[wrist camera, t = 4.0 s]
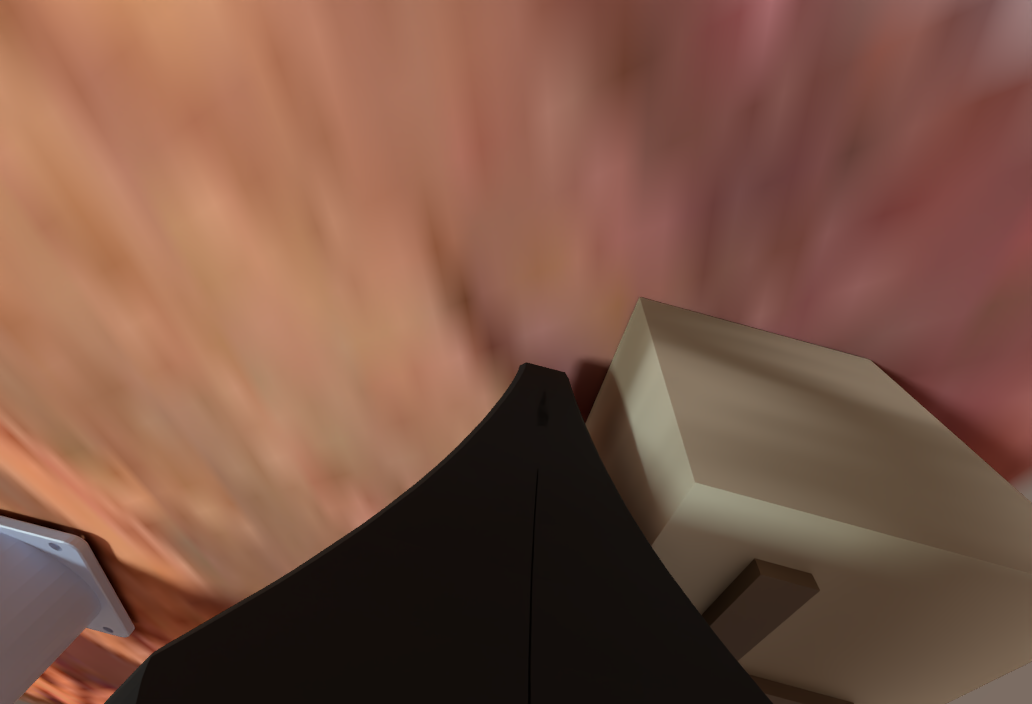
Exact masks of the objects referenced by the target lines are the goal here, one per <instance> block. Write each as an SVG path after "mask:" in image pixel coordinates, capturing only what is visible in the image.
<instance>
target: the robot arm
mask: <svg viewBox="0 0 1032 704" xmlns="http://www.w3.org/2000/svg"><path fill="white" fill-rule="evenodd" d="M85 628H89V629H93V630H97V631H101V632H104V633H108V634H112V635H116V636H120V637H128V636H129V635H130V634H131V633H132V632H133V630H134V629H135V627H134V625H133V623H132V621H131V619H130V617H129V616H128V614H127V612H126V610H125V609H124V607H123V605H122V603H121V601H120V600H119V598H118V596H117V594H116V593H115V591H114V589H113V587H112V585H111V584H110V582H109V580H108V578H107V576H106V575H105V573H104V571H103V569H102V568H101V566H100V564H99V562H98V560H97V559H96V557H95V555H94V553H93V552H92V550H91V548H90V546H89V544H88V543H87V542H86V541H85V540H84V539H83V538H81V537H79V536H76V535H74V534H70V533H66V532H62V531H58V530H55V529H51V528H47V527H43V526H39V525H36V524H32V523H28V522H24V521H20V520H17V519H13V518H9V517H5V516H1V515H0V704H14V703H15V702H16V701H17V700H18V699H19V698H20V697H21V696H22V695H23V694H24V693H25V691H26V690H27V689H28V688H29V687H30V686H31V685H32V684H33V683H34V682H35V681H36V680H37V679H38V678H39V677H40V676H41V675H42V674H43V672H44V671H45V670H46V669H47V668H48V667H49V666H50V665H51V664H52V663H53V662H54V661H55V660H56V659H57V658H58V657H59V656H60V655H61V653H62V652H63V651H64V650H65V649H66V648H67V647H68V646H69V645H70V644H71V643H72V642H73V641H74V640H75V639H76V638H77V637H78V636H79V635H80V633H81V632H82V631H83V630H84V629H85ZM104 704H773V703H772V702H771V701H770V699H769V698H768V697H767V696H766V695H765V693H764V692H763V691H762V690H761V689H760V687H759V686H758V685H757V684H756V683H755V681H754V680H753V679H752V678H751V677H750V675H749V674H748V673H747V672H746V671H745V669H744V668H743V667H742V666H741V665H740V663H739V662H738V661H737V660H736V659H735V657H734V656H733V655H732V654H731V653H730V651H729V650H728V649H727V648H726V646H725V645H724V644H723V643H722V641H721V640H720V639H719V638H718V636H717V635H716V634H715V632H714V631H713V630H712V629H711V627H710V626H709V625H708V623H707V622H706V621H705V619H704V618H703V617H702V615H701V614H700V613H699V611H698V610H697V609H696V607H695V606H694V605H693V603H692V602H691V601H690V599H689V598H688V597H687V595H686V594H685V593H684V591H683V590H682V589H681V587H680V586H679V585H678V583H677V582H676V581H675V579H674V578H673V577H672V575H671V574H670V573H669V571H668V570H667V569H666V567H665V566H664V564H663V563H662V561H661V560H660V558H659V557H658V555H657V554H656V552H655V551H654V550H653V548H652V547H651V545H650V543H649V542H648V540H647V539H646V537H645V536H644V534H643V532H642V531H641V529H640V528H639V526H638V525H637V523H636V521H635V520H634V518H633V516H632V515H631V513H630V511H629V510H628V508H627V506H626V505H625V503H624V501H623V499H622V498H621V496H620V494H619V492H618V490H617V489H616V487H615V485H614V483H613V481H612V479H611V477H610V475H609V474H608V472H607V470H606V468H605V466H604V464H603V462H602V460H601V458H600V456H599V454H598V451H597V449H596V447H595V445H594V443H593V440H592V438H591V436H590V434H589V432H588V429H587V427H586V425H585V422H584V420H583V418H582V415H581V413H580V410H579V407H578V405H577V402H576V400H575V397H574V394H573V391H572V388H571V385H570V382H569V379H568V377H567V375H566V373H565V372H561V371H557V370H553V369H549V368H546V367H542V366H538V365H534V364H530V363H524V364H522V365H520V367H519V370H518V372H517V374H516V376H515V378H514V380H513V381H512V383H511V384H510V386H509V387H508V389H507V390H506V392H505V393H504V394H503V396H502V397H501V398H500V400H499V401H498V402H497V403H496V405H495V406H494V407H493V408H492V410H491V411H490V412H489V413H488V414H487V416H486V417H485V418H484V419H483V420H482V421H481V422H480V424H479V425H478V426H477V427H476V428H475V429H474V430H473V431H472V432H471V433H470V434H469V435H468V436H467V437H466V438H465V439H464V440H463V441H462V442H461V443H460V444H459V445H458V446H457V447H456V448H455V449H454V450H453V451H452V452H451V453H450V454H449V455H448V456H447V457H446V458H445V459H444V460H442V461H441V462H440V463H439V464H438V465H437V466H436V467H435V468H433V469H432V470H431V471H430V472H429V473H428V474H426V475H425V476H424V477H423V478H422V479H421V480H419V481H418V482H417V483H416V484H415V485H413V486H412V487H411V488H409V489H408V490H407V491H406V492H404V493H403V494H402V495H400V496H399V497H398V498H397V499H395V500H394V501H393V502H392V503H390V504H389V505H388V506H386V507H385V508H384V509H382V510H381V511H380V512H378V513H377V514H376V515H374V516H373V517H372V518H370V519H369V520H367V521H366V522H365V523H363V524H362V525H360V526H359V527H357V528H356V529H354V530H353V531H351V532H350V533H348V534H347V535H345V536H344V537H342V538H341V539H339V540H338V541H336V542H335V543H333V544H332V545H330V546H329V547H327V548H326V549H324V550H323V551H321V552H320V553H318V554H317V555H315V556H314V557H312V558H311V559H309V560H308V561H306V562H305V563H303V564H302V565H300V566H299V567H297V568H296V569H294V570H292V571H291V572H289V573H288V574H286V575H284V576H283V577H281V578H280V579H278V580H276V581H275V582H273V583H271V584H270V585H268V586H266V587H265V588H263V589H261V590H259V591H258V592H256V593H254V594H253V595H251V596H249V597H247V598H246V599H244V600H242V601H241V602H239V603H237V604H235V605H234V606H232V607H230V608H228V609H227V610H225V611H223V612H222V613H220V614H218V615H216V616H215V617H213V618H211V619H210V620H208V621H206V622H204V623H203V624H201V625H199V626H198V627H196V628H194V629H192V630H191V631H189V632H187V633H185V634H184V635H182V636H180V637H179V638H177V639H175V640H173V641H172V642H170V643H168V644H166V645H165V646H163V647H161V648H160V649H158V650H157V651H155V652H154V653H152V654H151V655H150V656H149V657H148V658H147V659H146V660H145V661H144V662H143V663H142V664H141V665H140V666H139V667H138V668H137V669H136V670H135V671H134V672H133V673H132V675H131V676H130V677H129V678H128V679H127V680H126V681H125V682H124V683H123V684H122V685H121V686H120V687H119V688H118V689H117V690H116V691H115V692H114V693H113V694H112V695H111V696H110V698H109V699H108V700H107V701H106V702H105V703H104Z"/></svg>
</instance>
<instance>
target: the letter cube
mask: <svg viewBox="0 0 1032 704" xmlns="http://www.w3.org/2000/svg"><path fill="white" fill-rule="evenodd" d="M585 425H586V427H587V429H588V432H589V434H590V436H591V438H592V440H593V443H594V445H595V447H596V449H597V451H598V454H599V456H600V458H601V460H602V462H603V464H604V466H605V468H606V470H607V472H608V474H609V475H610V477H611V479H612V481H613V483H614V485H615V487H616V489H617V490H618V492H619V494H620V496H621V498H622V499H623V501H624V503H625V505H626V506H627V508H628V510H629V511H630V513H631V515H632V516H633V518H634V520H635V521H636V523H637V525H638V526H639V528H640V529H641V531H642V532H643V534H644V536H645V537H646V539H647V540H648V542H649V543H650V545H651V547H652V548H653V550H654V551H655V552H656V554H657V555H658V557H659V558H660V560H661V561H662V563H663V564H664V566H665V567H666V569H667V570H668V571H669V573H670V574H671V575H672V577H673V578H674V579H675V581H676V582H677V583H678V585H679V586H680V587H681V589H682V590H683V591H684V593H685V594H686V595H687V597H688V598H689V599H690V601H691V602H692V603H693V605H694V606H695V607H696V609H697V610H698V611H699V613H700V614H701V615H702V617H703V618H704V619H705V621H706V622H707V623H708V625H709V626H710V627H711V629H712V630H713V631H714V632H715V634H716V635H717V636H718V638H719V639H720V640H721V641H722V643H723V644H724V645H725V646H726V648H727V649H728V650H729V651H730V653H731V654H732V655H733V656H734V657H735V659H736V660H737V661H738V662H739V663H740V665H741V666H742V667H743V668H744V669H745V671H746V672H747V673H748V674H749V675H750V677H751V678H752V679H753V680H754V681H755V683H756V684H757V685H758V686H759V687H760V689H761V690H762V691H763V692H764V693H765V695H766V696H767V697H768V698H769V699H770V701H771V702H772V703H773V704H946V703H949V702H950V701H953V700H955V699H957V698H959V697H961V696H963V695H965V694H967V693H969V692H971V691H973V690H975V689H977V688H979V687H981V686H983V685H985V684H987V683H989V682H991V681H993V680H995V679H997V678H999V677H1001V676H1003V675H1005V674H1007V673H1009V672H1012V671H1014V670H1016V669H1018V668H1020V667H1022V666H1024V665H1026V664H1028V663H1030V662H1032V503H1031V502H1030V501H1029V500H1028V499H1027V498H1025V497H1024V496H1023V495H1022V494H1021V493H1020V492H1019V491H1018V490H1017V489H1015V488H1014V487H1013V486H1012V485H1011V484H1010V483H1009V482H1007V481H1006V480H1005V479H1004V478H1003V477H1002V476H1001V475H1000V474H998V473H997V472H996V471H995V470H994V469H993V468H992V467H991V466H989V465H988V464H987V463H986V462H985V461H984V460H983V459H982V458H980V457H979V456H978V455H977V454H976V453H975V452H974V451H973V450H971V449H970V448H969V447H968V446H967V445H966V444H965V443H963V442H962V441H961V440H960V439H959V438H958V437H957V436H956V435H954V434H953V433H952V432H951V431H950V430H949V429H948V428H947V427H945V426H944V425H943V424H942V423H941V422H940V421H939V420H938V419H936V418H935V417H934V416H933V415H932V414H931V413H930V412H928V411H927V410H926V409H925V408H924V407H923V406H922V405H921V404H919V403H918V402H917V401H916V400H915V399H914V398H913V397H912V396H910V395H909V394H908V393H907V392H906V391H905V390H904V389H903V388H901V387H900V386H899V385H898V384H897V383H896V382H895V381H894V380H892V379H891V378H890V377H889V376H888V375H887V374H886V373H884V372H883V371H882V370H881V369H880V368H879V367H878V366H877V365H875V364H874V363H873V362H872V361H871V360H869V359H865V358H862V357H858V356H854V355H851V354H847V353H843V352H840V351H836V350H832V349H829V348H825V347H821V346H818V345H814V344H810V343H807V342H803V341H799V340H796V339H792V338H788V337H785V336H781V335H777V334H774V333H770V332H766V331H763V330H759V329H755V328H752V327H748V326H744V325H741V324H737V323H733V322H730V321H726V320H722V319H719V318H715V317H711V316H708V315H704V314H700V313H697V312H693V311H689V310H686V309H682V308H678V307H675V306H671V305H667V304H664V303H660V302H656V301H653V300H649V299H645V298H642V297H639V299H638V302H637V304H636V306H635V309H634V311H633V313H632V316H631V318H630V320H629V323H628V325H627V327H626V330H625V332H624V334H623V337H622V339H621V341H620V344H619V346H618V348H617V351H616V353H615V355H614V358H613V360H612V362H611V365H610V367H609V369H608V372H607V374H606V376H605V379H604V381H603V383H602V386H601V388H600V390H599V393H598V395H597V397H596V400H595V402H594V405H593V407H592V409H591V412H590V414H589V416H588V419H587V421H586V423H585Z"/></svg>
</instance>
